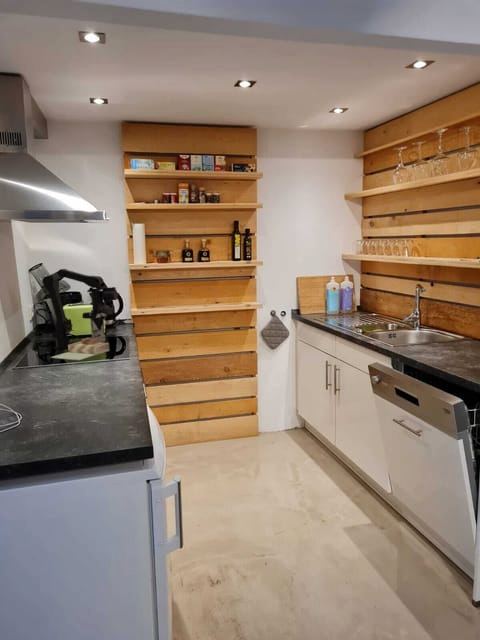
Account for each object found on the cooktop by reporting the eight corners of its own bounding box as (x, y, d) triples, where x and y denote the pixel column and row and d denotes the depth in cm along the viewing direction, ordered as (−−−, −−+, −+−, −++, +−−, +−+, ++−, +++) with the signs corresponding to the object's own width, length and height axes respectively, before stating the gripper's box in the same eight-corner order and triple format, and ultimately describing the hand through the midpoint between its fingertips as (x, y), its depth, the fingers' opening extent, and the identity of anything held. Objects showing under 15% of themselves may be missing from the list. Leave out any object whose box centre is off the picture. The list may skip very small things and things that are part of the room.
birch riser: (68, 352, 249) (68, 345, 248) (82, 348, 258) (81, 341, 257) (96, 354, 242) (95, 347, 241) (109, 350, 251) (108, 343, 250)
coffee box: (105, 341, 275) (103, 313, 273) (94, 342, 273) (91, 314, 270) (102, 338, 284) (100, 311, 281) (91, 340, 281) (89, 312, 279)
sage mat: (51, 357, 238) (51, 357, 238) (67, 353, 248) (67, 352, 248) (79, 360, 231) (79, 359, 231) (95, 355, 241) (94, 354, 241)
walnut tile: (81, 344, 250) (81, 339, 249) (88, 342, 254) (88, 337, 254) (92, 344, 247) (92, 340, 246) (99, 342, 251) (98, 338, 251)
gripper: (97, 302, 243) (100, 333, 245) (121, 298, 259) (123, 327, 262) (80, 302, 247) (82, 332, 250) (104, 298, 264) (106, 326, 266)
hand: (99, 329), depth 257 cm, fingers closed
